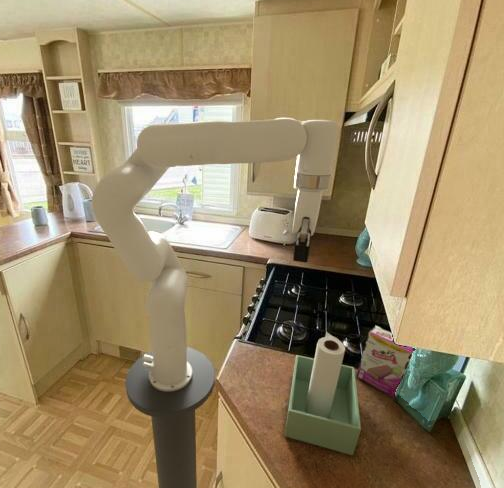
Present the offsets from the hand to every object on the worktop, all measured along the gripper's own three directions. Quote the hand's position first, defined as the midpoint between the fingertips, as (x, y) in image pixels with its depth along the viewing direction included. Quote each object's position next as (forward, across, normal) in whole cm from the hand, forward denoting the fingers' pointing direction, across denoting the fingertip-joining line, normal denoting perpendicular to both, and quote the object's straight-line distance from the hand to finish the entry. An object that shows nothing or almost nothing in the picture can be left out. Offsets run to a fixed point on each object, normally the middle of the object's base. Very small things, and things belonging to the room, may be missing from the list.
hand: (301, 253), depth 76 cm
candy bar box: (+38, -4, +26) cm, 47 cm away
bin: (+38, +11, +10) cm, 41 cm away
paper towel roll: (+38, +11, +10) cm, 41 cm away
